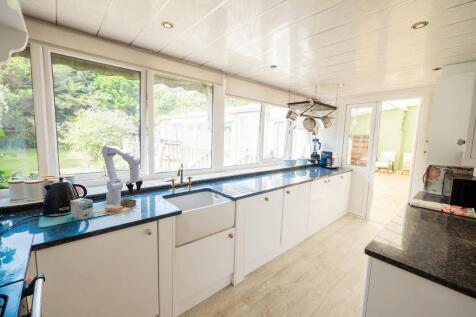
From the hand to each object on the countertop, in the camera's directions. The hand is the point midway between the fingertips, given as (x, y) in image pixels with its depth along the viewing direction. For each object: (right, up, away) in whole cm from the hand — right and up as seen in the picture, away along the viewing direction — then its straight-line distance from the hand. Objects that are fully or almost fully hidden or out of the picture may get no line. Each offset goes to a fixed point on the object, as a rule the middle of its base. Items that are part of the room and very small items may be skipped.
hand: (134, 192), depth 148 cm
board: (-8, -11, -11) cm, 17 cm away
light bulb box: (-22, -12, -22) cm, 33 cm away
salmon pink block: (-8, -11, -12) cm, 18 cm away
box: (-5, -10, 0) cm, 11 cm away
